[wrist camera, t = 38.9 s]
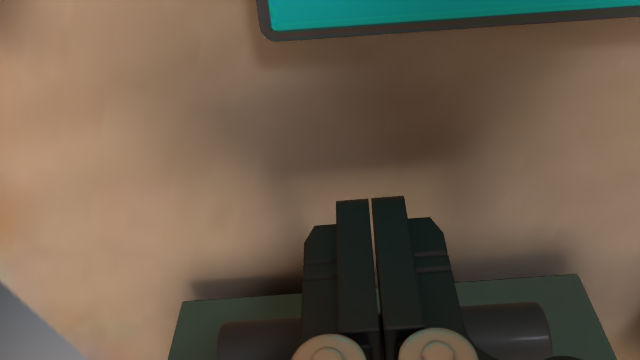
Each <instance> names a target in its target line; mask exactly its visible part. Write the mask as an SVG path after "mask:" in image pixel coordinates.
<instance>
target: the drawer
mask: <svg viewBox="0 0 640 360" xmlns="http://www.w3.org/2000/svg"><path fill="white" fill-rule="evenodd" d="M455 287H456V291H457V296H458V300H459V304H460V309H461V313H462V317H463V322H464V326H465V329H466V332H467V334H468V336H469V338H470V339H471V340H472V342H473V343H474V344H475V345H476V346H477V347H478V348H479V349H481V350H482V351H483V352H484V353H486V354H488V355H490V356H491V357H494V358H496V359H498V360H544V359H546V358H549V357H553V356H571V357H576V358H579V359H582V360H617V358H616V356H615V354H614V352H613V350H612V348H611V345H610V343H609V341H608V339H607V337H606V335H605V332H604V330H603V328H602V326H601V324H600V322H599V319H598V317H597V315H596V313H595V311H594V309H593V306H592V304H591V302H590V300H589V298H588V295H587V293H586V291H585V289H584V287H583V285H582V282H581V280H580V278H579V276H578V275H577V274H571V275H557V276H543V277H528V278H514V279H500V280H485V281H471V282H457V283H455ZM376 295H377V307H378V318H379V330H380V343H381V356H382V360H385V357H384V346H383V335H382V324H381V313H380V302H379V290H378V288H376ZM301 307H302V293H300V294H285V295H271V296H257V297H243V298H228V299H214V300H200V301H185V302H183V303H182V306H181V309H180V313H179V317H178V321H177V325H176V329H175V333H174V337H173V341H172V345H171V349H170V353H169V357H168V360H290V359H291V358H292V356H293V355H294V353H295V352H296V350H297V348H298V345H299V341H300V329H301Z"/></svg>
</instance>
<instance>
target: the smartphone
mask: <svg viewBox="0 0 640 360" xmlns="http://www.w3.org/2000/svg"><path fill="white" fill-rule="evenodd" d="M256 3H257V10H258V17H259V23H260V29H261V32H262V34H263V35H264V36H265V37H266V38H267V39H269V40H271V41H277V42H279V41H293V40H308V39H322V38H337V37H351V36H365V35H380V34H394V33H409V32H423V31H438V30H452V29H467V28H481V27H496V26H510V25H524V24H539V23H553V22H568V21H582V20H597V19H611V18H626V17H640V0H256Z"/></svg>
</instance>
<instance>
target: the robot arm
mask: <svg viewBox="0 0 640 360" xmlns="http://www.w3.org/2000/svg"><path fill="white" fill-rule="evenodd" d="M371 201H372V215H373V229H374V243H375V256H376V268H377V279H378V290H379V302H380V313H381V324H382V335H383V346H384V357H385V360H498V359H496V358H494V357H491V356H490V355H488V354H486V353H484V352H483V351H482V350H481V349H479V348H478V347H477V346H476V345H475V344H474V343H473V342H472V340H471V339H470V338H469V336H468V334H467V332H466V329H465V326H464V322H463V317H462V313H461V309H460V304H459V300H458V296H457V291H456V287H455V282H454V278H453V274H452V271H451V265H450V261H449V256H448V253H447V248H446V243H445V239H444V234H443V232H442V231H441V230H440V229H439V227H438V226H437V225H436V224H435V223H434V222H433V220H432V219H431V218H430V217H425V218H411V219H408V218H407V212H406V205H405V199H404V196H394V197H382V198H371ZM290 360H382V356H381V343H380V330H379V318H378V307H377V295H376V283H375V272H374V260H373V249H372V237H371V225H370V214H369V202H368V199H358V200H345V201H336V224H333V225H320V226H314V228H313V229H312V231H311V233H310V234H309V236H308V238H307V239H306V241H305V243H304V265H303V285H302V307H301V329H300V341H299V345H298V348H297V350H296V352H295V353H294V355H293V356H292V358H291V359H290ZM544 360H582V359H579V358H576V357H571V356H553V357H549V358H546V359H544Z"/></svg>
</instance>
